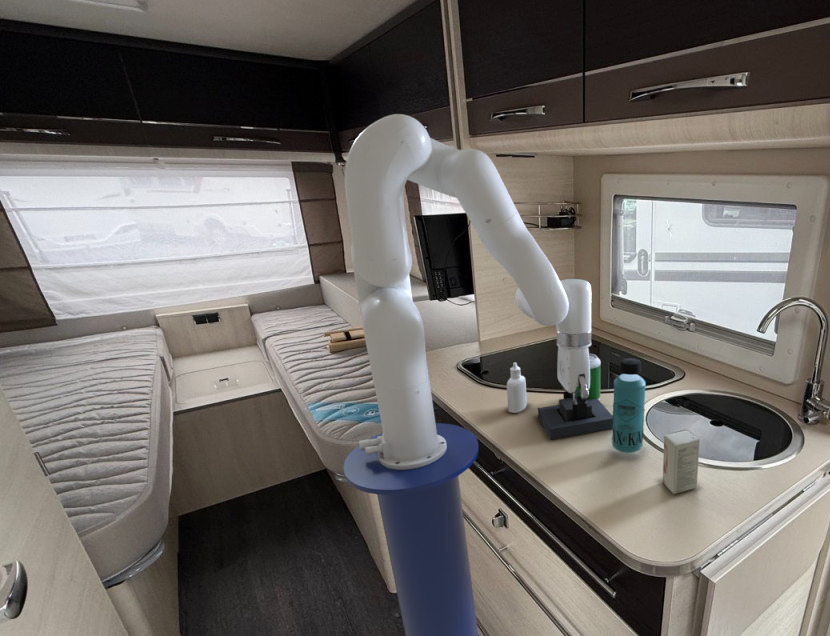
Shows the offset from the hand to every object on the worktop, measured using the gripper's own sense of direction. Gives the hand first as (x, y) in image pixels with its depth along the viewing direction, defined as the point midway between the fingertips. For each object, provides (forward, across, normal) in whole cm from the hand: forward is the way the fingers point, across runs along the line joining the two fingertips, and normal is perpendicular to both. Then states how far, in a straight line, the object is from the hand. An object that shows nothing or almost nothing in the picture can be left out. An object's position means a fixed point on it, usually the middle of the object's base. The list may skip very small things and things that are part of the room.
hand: (575, 412), depth 107 cm
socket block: (+3, 0, 0) cm, 3 cm away
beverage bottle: (+3, +16, +6) cm, 17 cm away
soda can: (+3, -10, +6) cm, 12 cm away
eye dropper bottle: (+3, -12, -11) cm, 16 cm away
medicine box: (+3, +30, +10) cm, 32 cm away
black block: (+1, 0, 0) cm, 1 cm away
